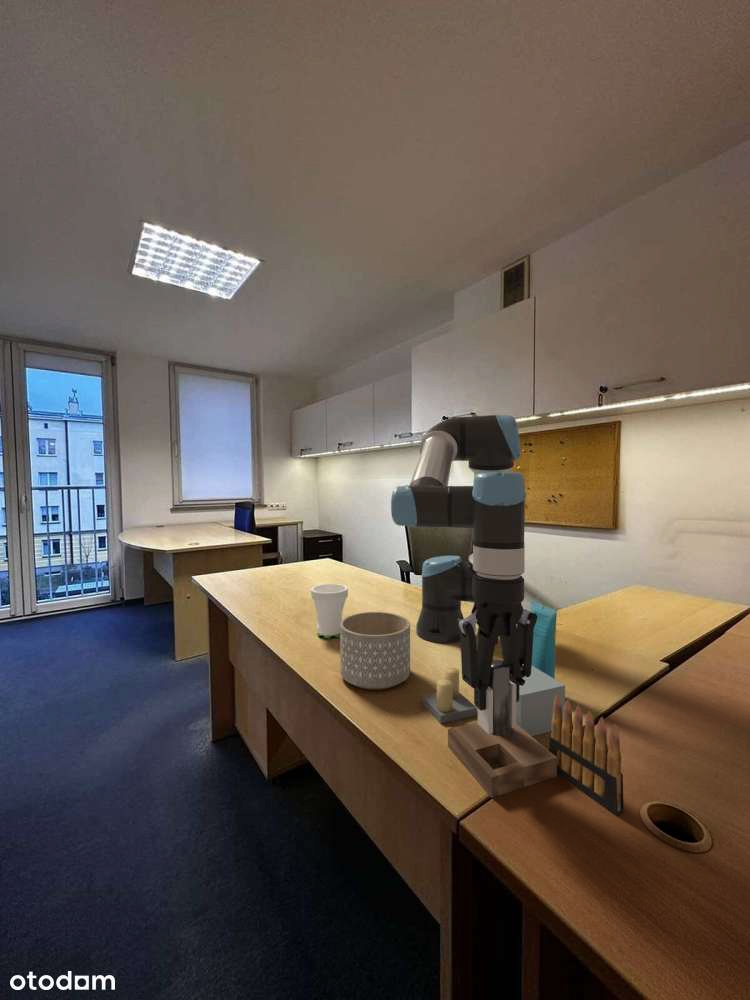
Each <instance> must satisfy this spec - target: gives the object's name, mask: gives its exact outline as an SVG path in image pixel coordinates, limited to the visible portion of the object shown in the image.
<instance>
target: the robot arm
mask: <svg viewBox="0 0 750 1000" xmlns="http://www.w3.org/2000/svg"><path fill="white" fill-rule="evenodd" d="M419 454H420V456H419V458H418V461H417V463H416V466H415V468H414V469H415V470H414V471H413V474H412V477H411V480H410V482H409V484H406V485H402V486H396V487H394V488H393V490H392V493H391V499H390V511H391V518H392V521H393V523H394V524H395V525H397V526H399V527H400V526H401V527H403V526H404V527H411V528H459V529H460V528H462V529H463V528H465V529H466V528H467V529H472V530H473V531H472V533H473V537H472V538H473V540H472V553H471V554H469V555H468V561H463V560H462V557H461V556H459V555H441V556H440V555H439V556H434V557H430V558H428V559H426V560H424V561H423V563H422V568H421V569H422V570H421V571H422V572H421V583H422V585H421V587H422V588H421V610H420V613H419V616H418V619H417V623H416V633H415V634H416V635H417V636H418V637H419V638H420V639H423V640H425V641H429V642H434V643H440V644H441V643H443V644H444V643H445V644H447V643H457V642H460V659H461V679H462V680H463V682H465V683H466V684H467V685H468V686H470V687H471V688H472V689H473V703H474V704H473V705H474V706H475V707H477V722H478V725H479V726H481V727H482V728H483V729H484V730H485V731H486V732H487V733H488V734H491V733H493V689H491V688H490V687H489V680H490V674H491V667H492V661H493V659H494V656H495V655H494V654H495V653H494V652H495V648H496V645H498V643H499V641H500V647H501V654H502V655H501V656H502V661H505V662H507V663H508V664H509V665H510V702H509V726H510V727H511V728H514V727H516V702H518V701H519V686H520V685H521V686H523V685H524V684H525V680H524V679H522V678H523V677H525V676H526V677H529V676H530V675H531V668H532V651H533V634H534V627H535V624H536V621H537V618H538V616H537V614H535V613H532V612H531V610H527V609H524V606H523V605H522V603H523V602H524V600H525V578H524V576H522V575H523V574H524V573H525V572H526V571H525V569H526V567H525V566H526V565H525V562H526V561H525V553H526V552H525V551H526V550H525V524H526V523H525V518H526V517H525V516H526V499H527V492H526V482H525V476H524V475H523V474H522V473H520V472H517V471H516V472H515V471H511V470H512V469H514V466H515V462H516V461H519V460H520V459H521V443H520V435H519V428H518V424H517V420H516V419H515V417H514V416H512V415H510V414H509V415H508V414H507V415H506V414H504V415H503V414H491V415H490V414H488V415H474V416H454V417H451V418H447V419H445V420H443V421H440V422H439V423H437V424H435V425H434V426H432V427H431V428H429V429H428V430H427V432H426V433H424V434H423V437H422V439H421V441H420V444H419ZM459 461H461V462H466V461H467V462H468V469H470V471H472V472H473V475H474V476H473V485H449V480H450V476H451V475H450V474H451V467H452V463H453V462H459ZM462 602H466V603H467V602H469V603H473V606H472V609H471V614H470V615H468V616H467V617H465V618H464V615H463V612H462ZM476 625H477V627H476ZM476 632H477V635H476ZM477 638H478V641H477Z"/></svg>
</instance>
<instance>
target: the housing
mask: <svg viewBox="0 0 750 1000" xmlns="http://www.w3.org/2000/svg"><path fill="white" fill-rule="evenodd" d="M522 679H524V680H525V684H524V685H523V686H521V685H520V686H519V701H518V702H516V724H517V725H518V726H520V727H521V728H522V729H523V730H525V731H526V732H527V733H528V734H529V735H531V736H534V737H536V736H535V735H537V736H540V735H539V734H541V735H543V734H542V733H545V734H547V733H546V732H548V733H551V732H550V731H552V718H553V707H554V700H555V697H556V695H557V694H558V695H559V697H560V700H561V706H562V720H563V712H564V706H565V702H566V685H565V684H563V683H562V682H560V681H559V680H557V679H556V678H555V679H554V678H552V677H550V676H549V675H547V674H545V673H543V672H542V671H540V670H538V669H537V668H535V667H533V666H532V668H531V675H530V676H529V677H526V676H525V677H523V678H522Z"/></svg>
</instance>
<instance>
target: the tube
mask: <svg viewBox="0 0 750 1000" xmlns="http://www.w3.org/2000/svg"><path fill="white" fill-rule="evenodd" d="M530 612H532V613H535V614H537V616H538V618H537V621H536V624H535V627H534V634H533V651H532V666H533V667H535V668H537V669H538V670H540V671H542V672H543V673H545V674H547V675H549V676H550V677H552V678H554V679H555V680H556V678H555V677H556V674H555V673H556V638H557V635H556V634H557V631H556V630H557V615H558V614H557V613H558V610H557V609H554V608H551V607H549V606H546V605H543V604H541V603H538V602H536V601H533V600H530Z"/></svg>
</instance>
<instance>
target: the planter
mask: <svg viewBox="0 0 750 1000" xmlns="http://www.w3.org/2000/svg"><path fill="white" fill-rule="evenodd" d="M339 638H340V641H339V642H340V644H339V645H340V646H339V650H340V651H339V652H340V654H339V657H340V660H339V661H340V664H339V665H340V676H341V677H342V679H344V681H346V682H347V683H349V684H351V685H353V686H354V687H357V688H360V689H364V690H370V691H371V690H373V691H377V690H378V691H379V690H387V689H391V688H393V687H396V686H397V685H399V684H401V683H403V682H404V681H406V680H407V679H408V678H409V677H410V676H411V675H410V674H411V622H410V620H409V619H408V618H406V617H405V616H403V615H400V614H396V613H394V612H386V611H367V612H366V611H365V612H358V613H355V614H351V615H348V616H345V617H344V618H342V621H341V623H340V636H339Z"/></svg>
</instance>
